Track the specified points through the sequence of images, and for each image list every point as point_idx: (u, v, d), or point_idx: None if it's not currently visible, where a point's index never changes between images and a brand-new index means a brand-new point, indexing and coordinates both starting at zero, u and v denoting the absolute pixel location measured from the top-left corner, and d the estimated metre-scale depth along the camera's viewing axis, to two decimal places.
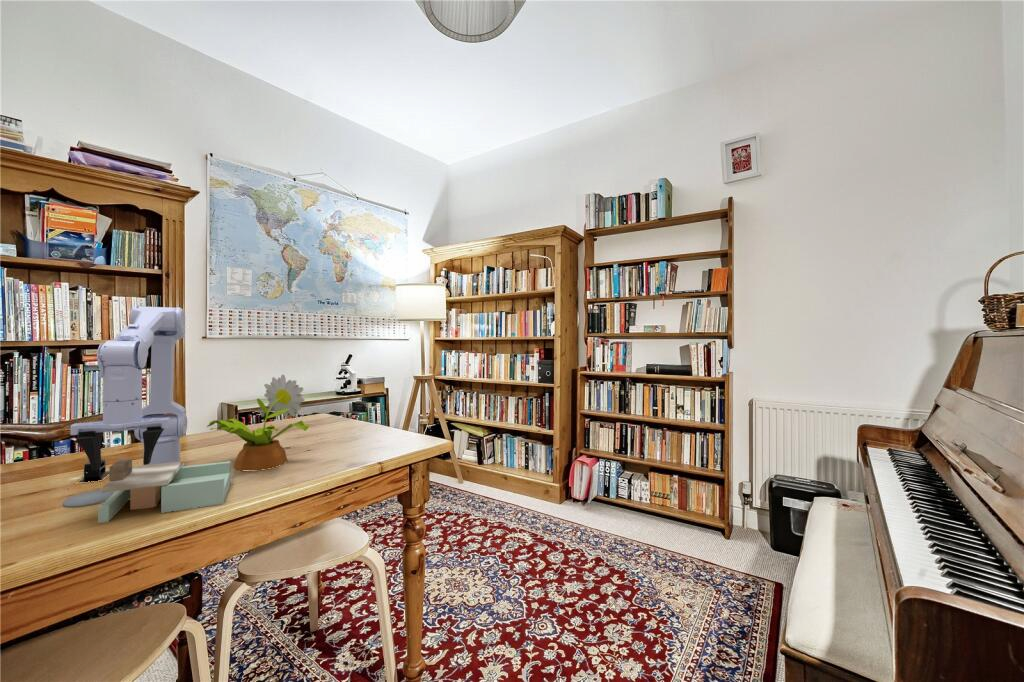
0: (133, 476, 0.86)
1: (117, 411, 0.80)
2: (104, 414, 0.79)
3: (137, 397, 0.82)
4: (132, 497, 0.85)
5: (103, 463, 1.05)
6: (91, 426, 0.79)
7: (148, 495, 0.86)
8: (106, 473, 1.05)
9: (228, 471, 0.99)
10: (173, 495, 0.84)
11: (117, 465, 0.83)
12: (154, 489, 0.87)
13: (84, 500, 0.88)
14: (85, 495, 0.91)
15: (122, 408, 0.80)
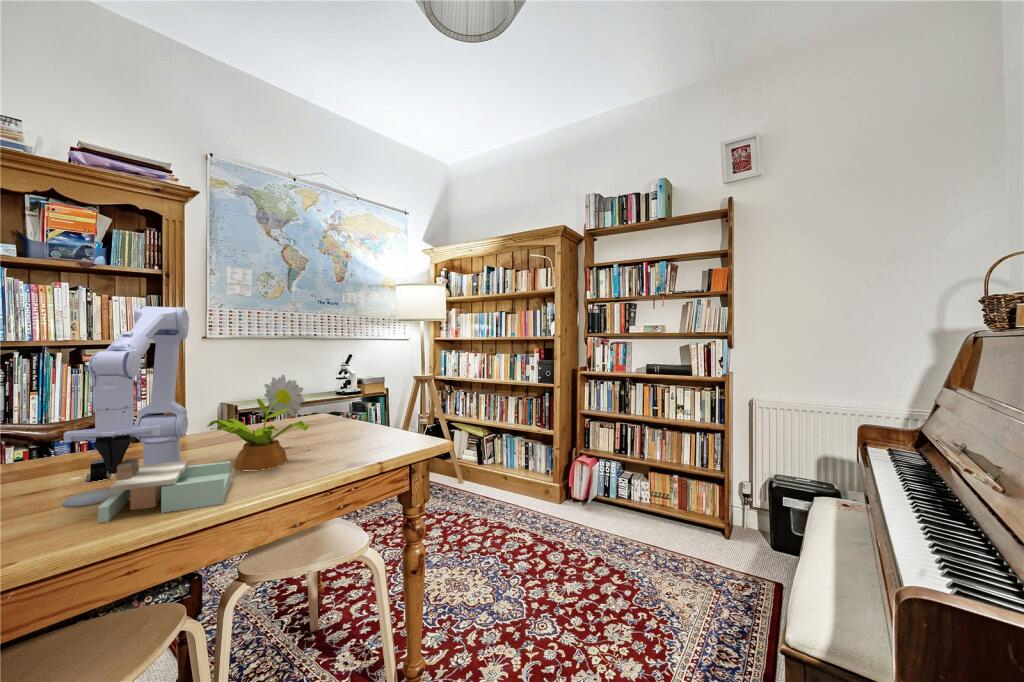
0: (140, 475, 0.86)
1: (108, 419, 0.82)
2: (96, 422, 0.82)
3: (127, 406, 0.85)
4: (132, 497, 0.85)
5: None
6: (84, 434, 0.81)
7: (148, 495, 0.86)
8: None
9: (228, 471, 0.99)
10: (173, 495, 0.84)
11: (124, 464, 0.84)
12: (154, 489, 0.87)
13: (84, 500, 0.88)
14: (85, 495, 0.91)
15: (113, 416, 0.83)
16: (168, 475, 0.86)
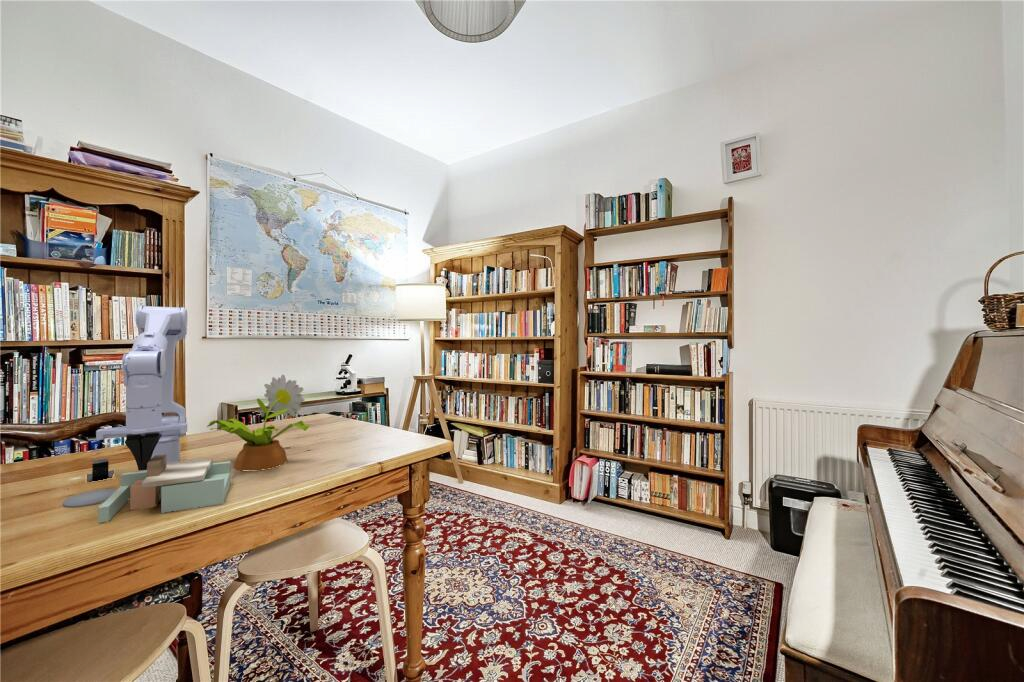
0: (169, 472, 0.88)
1: (139, 417, 0.85)
2: (127, 420, 0.85)
3: (158, 404, 0.88)
4: (132, 497, 0.85)
5: None
6: (115, 431, 0.84)
7: (148, 495, 0.86)
8: (110, 472, 1.06)
9: (228, 471, 0.99)
10: (173, 495, 0.84)
11: (154, 461, 0.86)
12: (154, 489, 0.87)
13: (84, 500, 0.88)
14: (85, 495, 0.91)
15: (144, 414, 0.85)
16: (196, 472, 0.89)
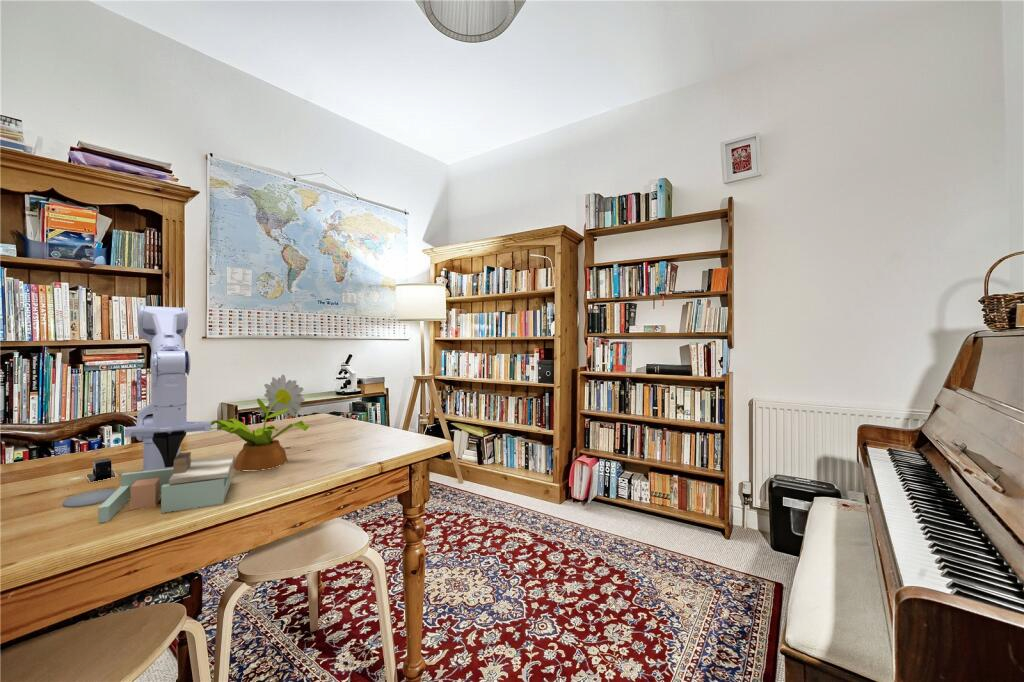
0: (194, 469, 0.91)
1: (166, 416, 0.87)
2: (154, 418, 0.87)
3: (185, 402, 0.90)
4: (132, 497, 0.85)
5: None
6: (143, 429, 0.86)
7: (148, 495, 0.86)
8: (110, 472, 1.06)
9: None
10: (173, 495, 0.84)
11: (180, 458, 0.89)
12: (154, 489, 0.87)
13: (84, 500, 0.88)
14: (85, 495, 0.91)
15: (170, 413, 0.87)
16: (220, 469, 0.91)
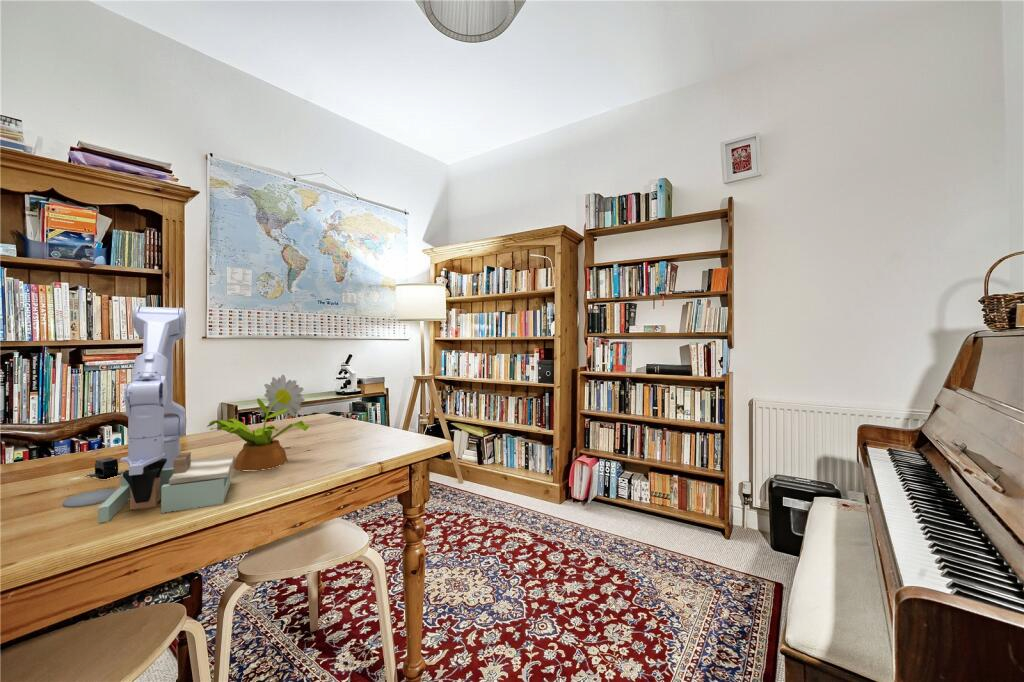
0: (194, 469, 0.91)
1: None
2: None
3: (161, 433, 0.88)
4: (132, 497, 0.85)
5: None
6: None
7: None
8: None
9: None
10: (173, 495, 0.84)
11: (180, 458, 0.89)
12: (154, 489, 0.87)
13: (84, 500, 0.88)
14: (85, 495, 0.91)
15: (128, 444, 0.86)
16: (220, 469, 0.91)
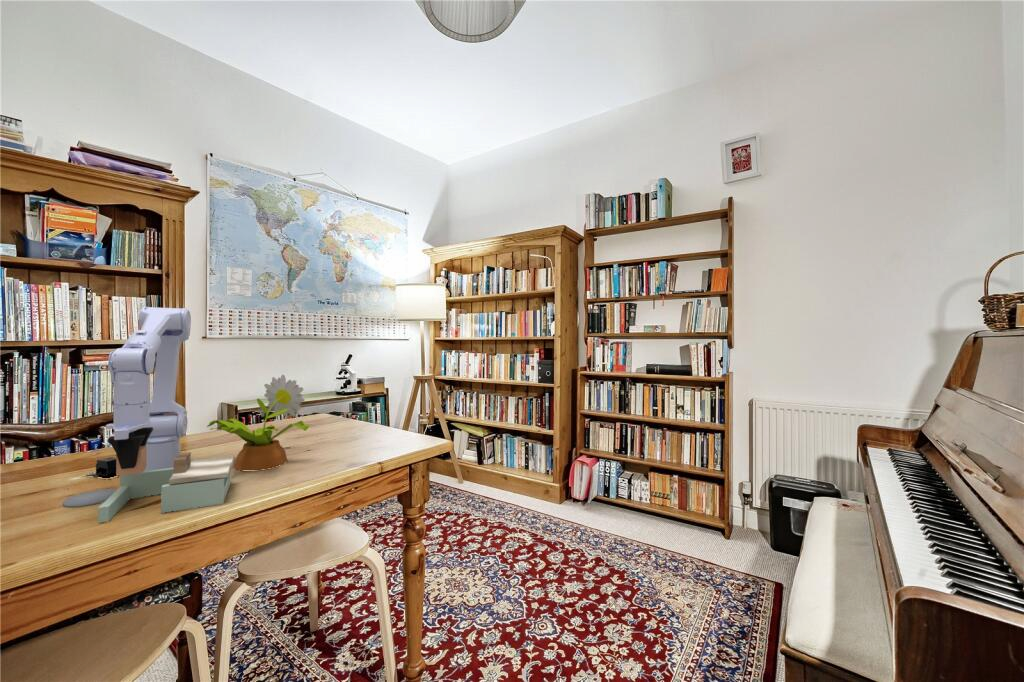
0: (194, 469, 0.91)
1: None
2: None
3: (145, 401, 0.88)
4: (118, 463, 0.86)
5: None
6: None
7: None
8: None
9: None
10: (173, 495, 0.84)
11: (180, 458, 0.89)
12: (140, 456, 0.87)
13: (84, 500, 0.88)
14: (85, 495, 0.91)
15: None
16: (220, 469, 0.91)
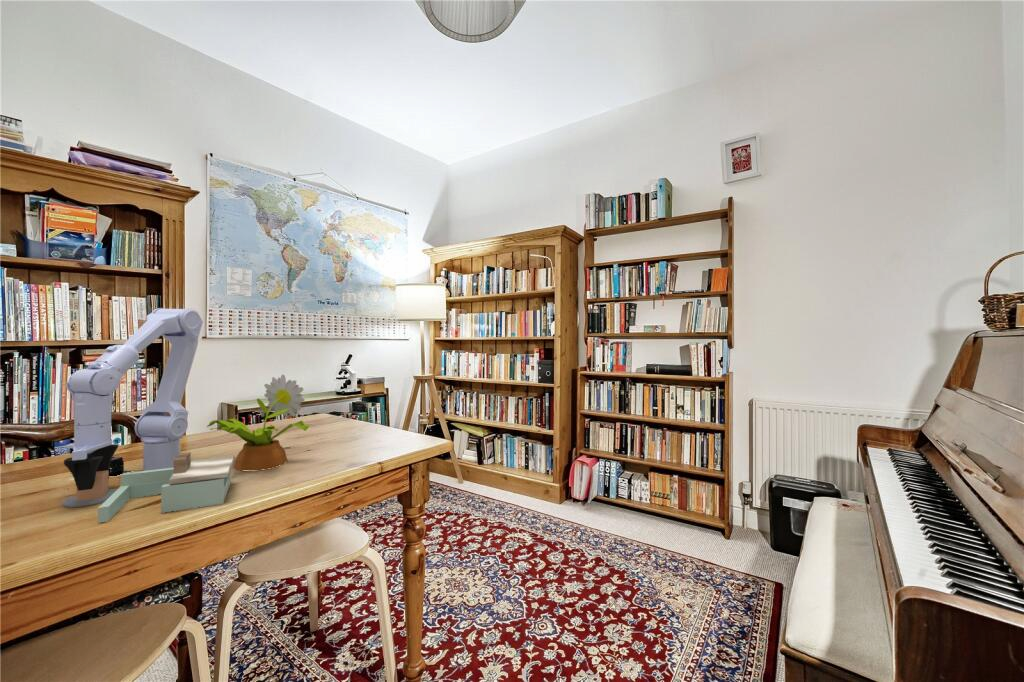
0: (194, 469, 0.91)
1: None
2: None
3: (98, 422, 0.88)
4: None
5: None
6: None
7: (94, 486, 0.89)
8: None
9: None
10: (173, 495, 0.84)
11: (180, 458, 0.89)
12: (101, 481, 0.89)
13: (84, 500, 0.88)
14: None
15: None
16: (220, 469, 0.91)
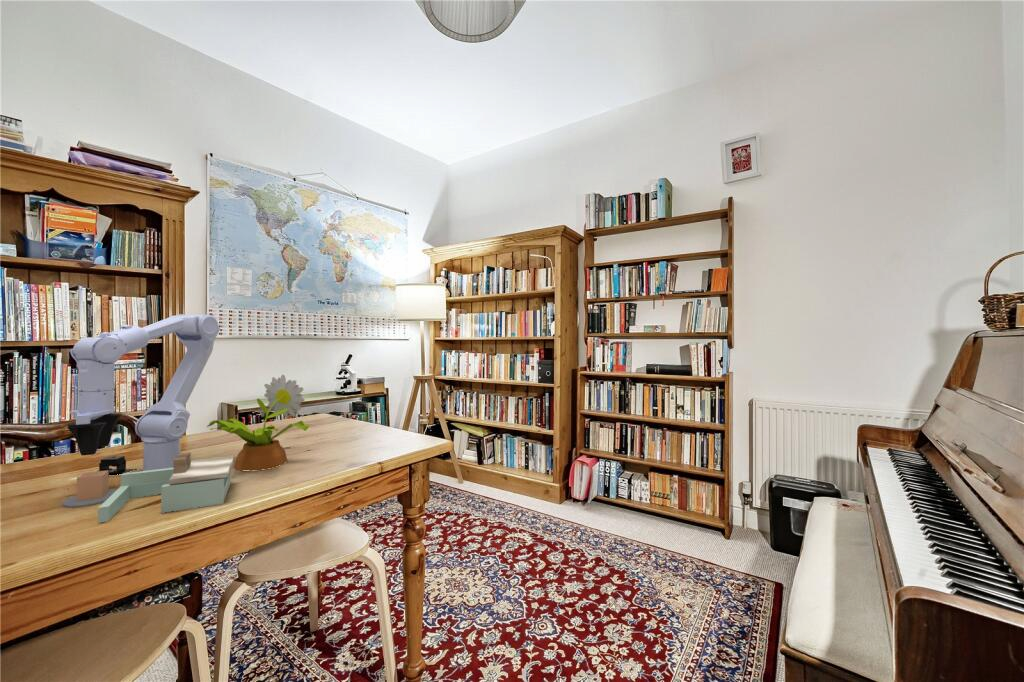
0: (194, 469, 0.91)
1: None
2: None
3: (100, 389, 0.90)
4: (78, 489, 0.87)
5: None
6: None
7: (94, 486, 0.89)
8: None
9: None
10: (173, 495, 0.84)
11: (180, 458, 0.89)
12: (101, 481, 0.89)
13: (84, 500, 0.88)
14: None
15: (78, 397, 0.89)
16: (220, 469, 0.91)
